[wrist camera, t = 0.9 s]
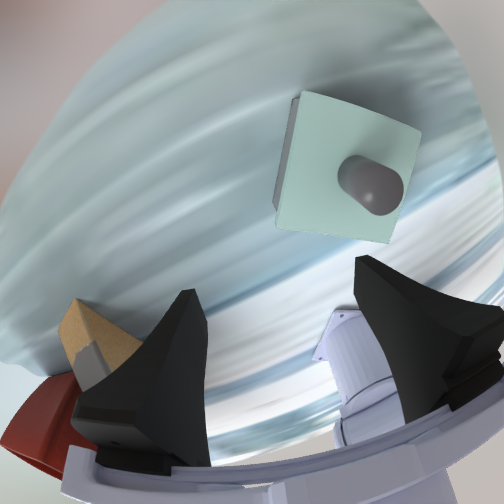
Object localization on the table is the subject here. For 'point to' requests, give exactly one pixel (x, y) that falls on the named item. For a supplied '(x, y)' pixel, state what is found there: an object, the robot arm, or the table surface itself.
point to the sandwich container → (93, 344)
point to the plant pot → (47, 426)
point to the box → (285, 152)
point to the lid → (346, 170)
